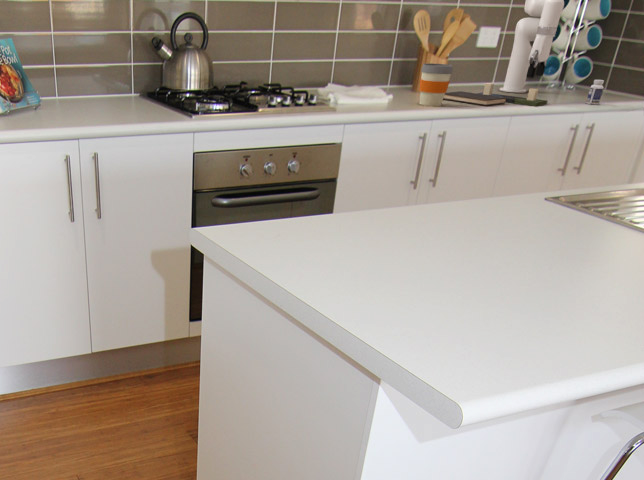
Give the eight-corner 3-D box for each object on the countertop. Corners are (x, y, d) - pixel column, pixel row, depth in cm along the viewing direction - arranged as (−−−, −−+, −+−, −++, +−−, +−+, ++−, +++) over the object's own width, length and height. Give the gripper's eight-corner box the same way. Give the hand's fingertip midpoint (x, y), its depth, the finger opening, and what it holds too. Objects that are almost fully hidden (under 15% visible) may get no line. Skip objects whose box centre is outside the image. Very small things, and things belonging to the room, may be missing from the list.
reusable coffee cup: (451, 106, 305) (459, 66, 297) (425, 106, 302) (433, 66, 294) (434, 102, 315) (442, 63, 307) (409, 102, 312) (416, 63, 304)
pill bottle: (600, 104, 330) (607, 80, 324) (596, 105, 326) (603, 81, 321) (587, 102, 333) (595, 79, 327) (583, 103, 329) (591, 79, 324)
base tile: (503, 98, 335) (503, 95, 334) (524, 101, 329) (525, 97, 328) (491, 100, 327) (492, 96, 326) (512, 103, 321) (513, 99, 321)
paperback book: (485, 105, 310) (487, 99, 309) (440, 98, 324) (441, 93, 323) (505, 103, 319) (506, 97, 317) (460, 96, 333) (461, 91, 332)
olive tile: (519, 100, 330) (523, 86, 327) (546, 104, 323) (550, 89, 320) (508, 102, 323) (511, 87, 319) (535, 106, 316) (539, 91, 312)
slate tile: (482, 95, 340) (485, 81, 337) (507, 99, 333) (511, 84, 330) (470, 97, 333) (473, 83, 330) (496, 101, 326) (499, 86, 323)
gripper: (545, 30, 316) (534, 74, 326) (529, 32, 306) (517, 77, 315) (562, 31, 312) (550, 76, 322) (546, 33, 302) (534, 79, 311)
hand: (534, 76), depth 319 cm, fingers open, 9 cm apart
